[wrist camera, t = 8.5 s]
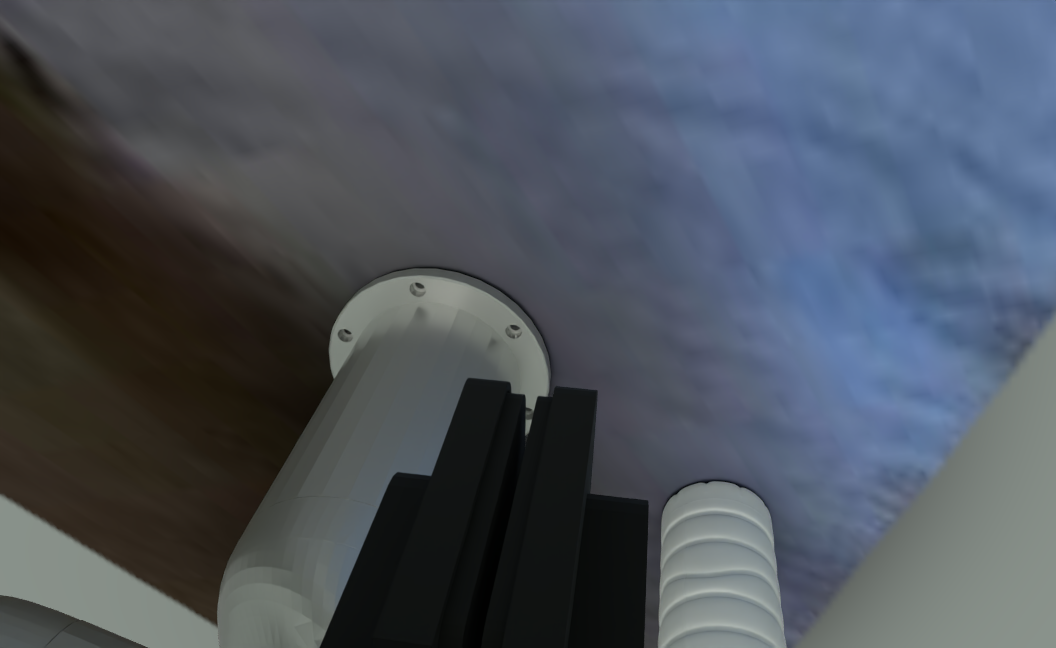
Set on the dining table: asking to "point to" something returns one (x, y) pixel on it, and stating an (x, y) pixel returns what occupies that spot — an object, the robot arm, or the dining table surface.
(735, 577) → the water bottle
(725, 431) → the dining table surface
